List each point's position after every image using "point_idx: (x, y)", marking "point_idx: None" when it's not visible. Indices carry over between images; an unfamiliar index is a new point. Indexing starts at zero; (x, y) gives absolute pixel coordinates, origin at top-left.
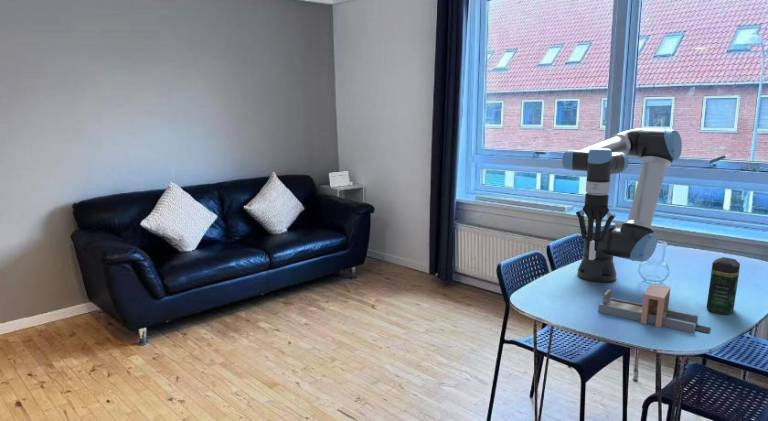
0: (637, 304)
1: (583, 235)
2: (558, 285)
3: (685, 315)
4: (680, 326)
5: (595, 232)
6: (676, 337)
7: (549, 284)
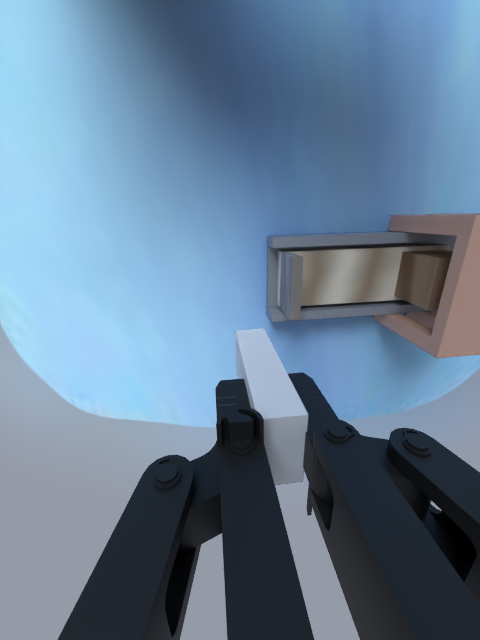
0: (373, 243)
1: (174, 566)
2: (43, 131)
3: None
4: None
5: (363, 632)
6: None
7: (7, 144)
